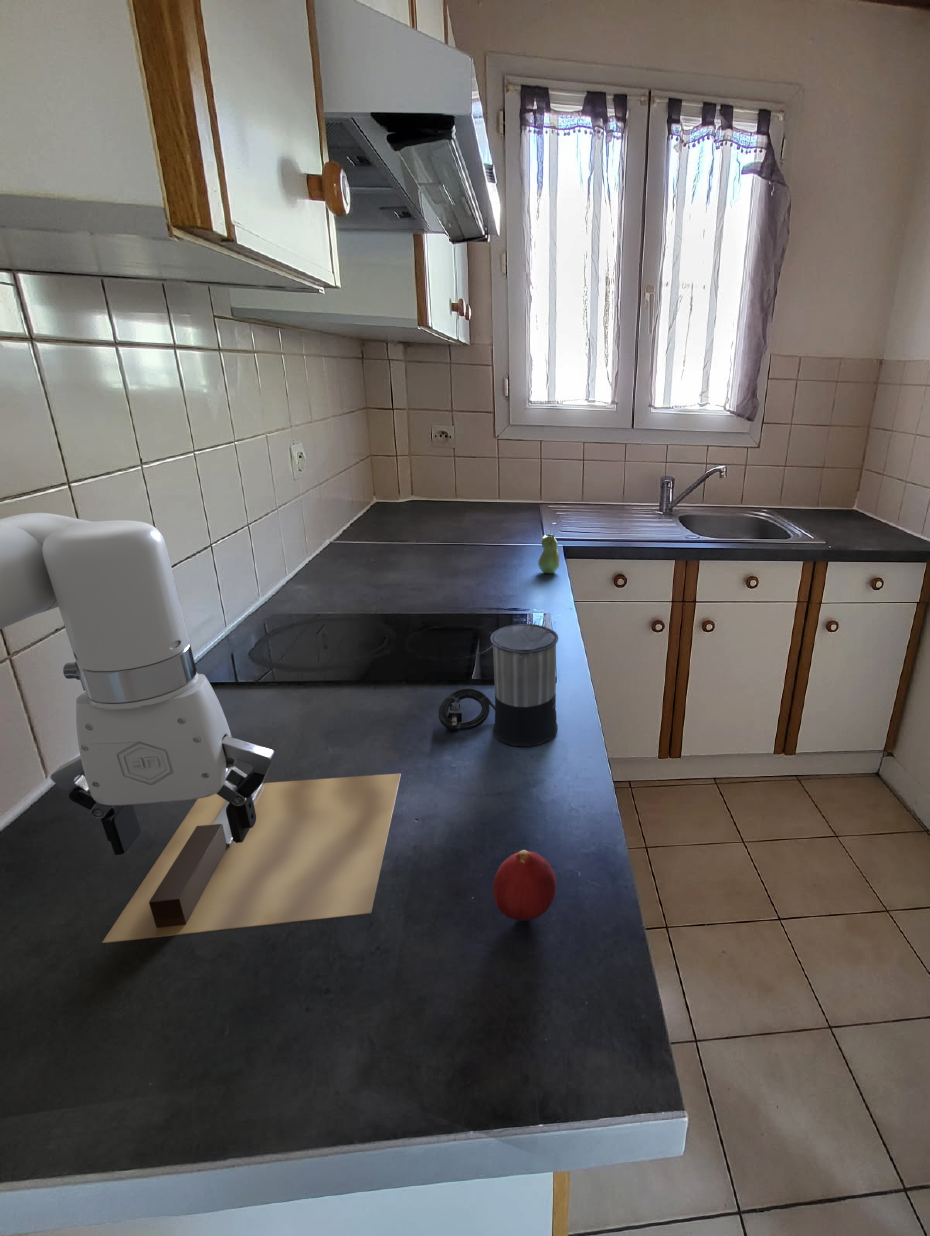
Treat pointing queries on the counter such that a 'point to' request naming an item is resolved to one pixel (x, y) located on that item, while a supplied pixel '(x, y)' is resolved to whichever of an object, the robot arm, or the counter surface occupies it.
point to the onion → (524, 886)
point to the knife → (192, 871)
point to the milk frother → (515, 688)
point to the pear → (549, 555)
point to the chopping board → (281, 858)
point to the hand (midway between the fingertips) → (187, 838)
